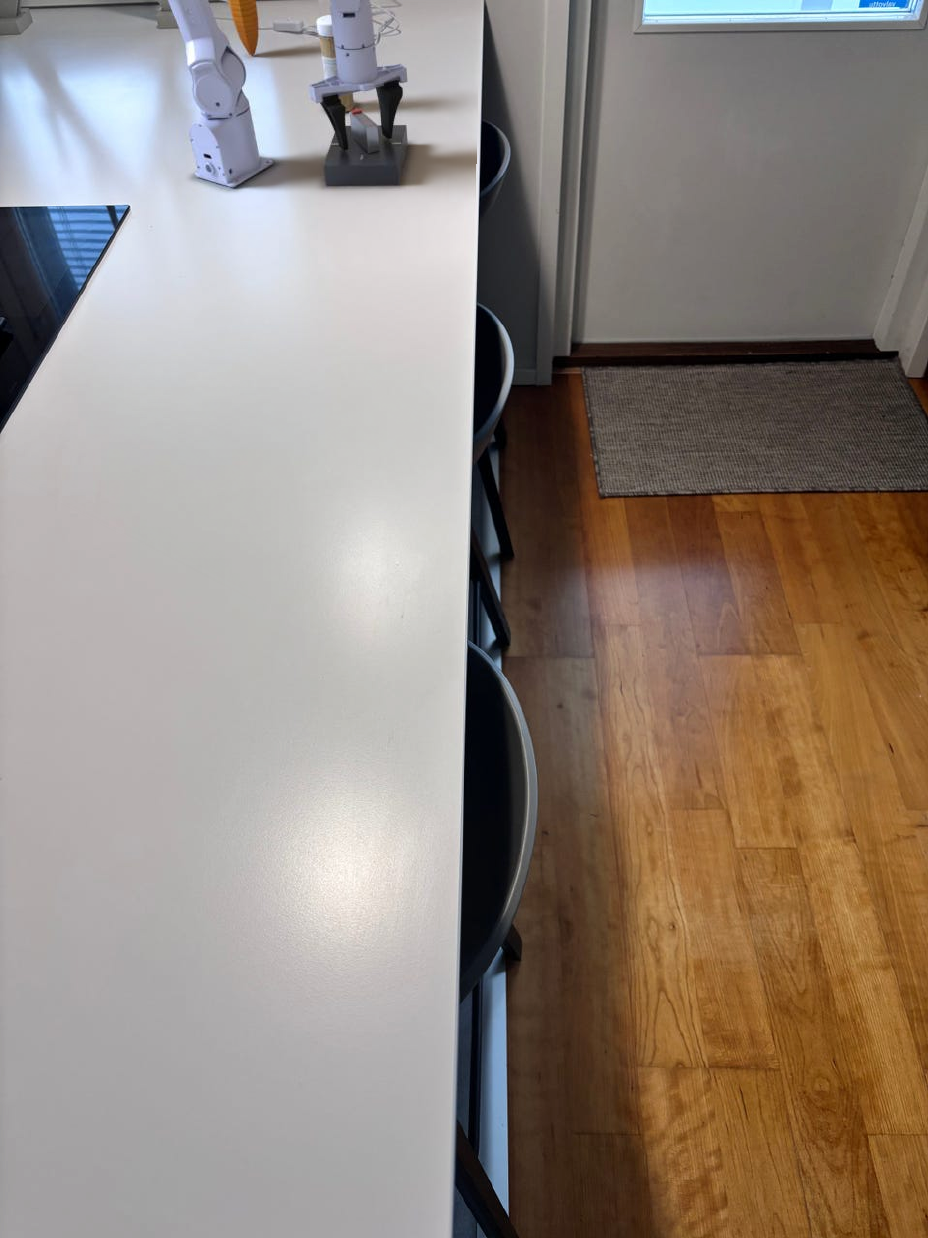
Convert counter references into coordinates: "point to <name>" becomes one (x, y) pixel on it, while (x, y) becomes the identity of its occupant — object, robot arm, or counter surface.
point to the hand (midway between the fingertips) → (365, 141)
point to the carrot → (246, 22)
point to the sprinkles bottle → (331, 56)
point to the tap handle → (364, 131)
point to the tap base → (367, 160)
